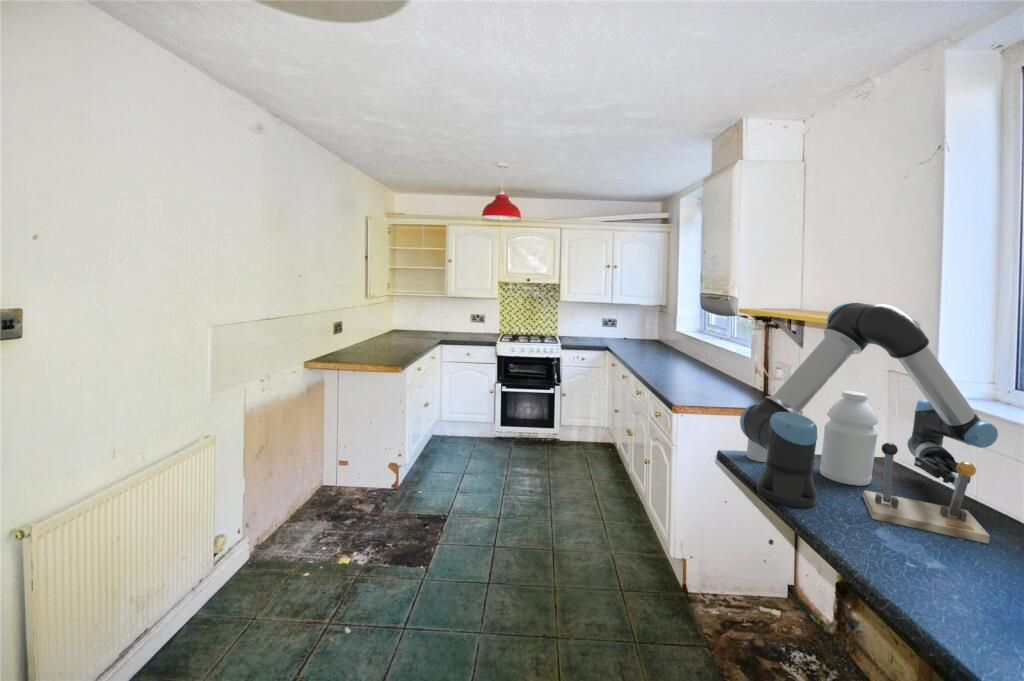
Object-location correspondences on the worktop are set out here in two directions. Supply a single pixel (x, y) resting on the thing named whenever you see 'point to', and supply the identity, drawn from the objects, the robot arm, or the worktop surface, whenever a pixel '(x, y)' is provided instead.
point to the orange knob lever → (961, 486)
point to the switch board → (925, 516)
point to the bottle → (849, 440)
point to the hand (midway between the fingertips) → (962, 485)
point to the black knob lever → (888, 469)
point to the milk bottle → (756, 451)
